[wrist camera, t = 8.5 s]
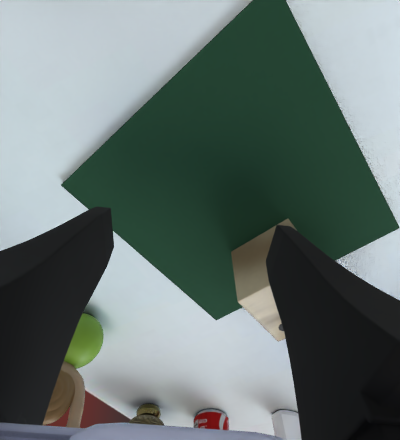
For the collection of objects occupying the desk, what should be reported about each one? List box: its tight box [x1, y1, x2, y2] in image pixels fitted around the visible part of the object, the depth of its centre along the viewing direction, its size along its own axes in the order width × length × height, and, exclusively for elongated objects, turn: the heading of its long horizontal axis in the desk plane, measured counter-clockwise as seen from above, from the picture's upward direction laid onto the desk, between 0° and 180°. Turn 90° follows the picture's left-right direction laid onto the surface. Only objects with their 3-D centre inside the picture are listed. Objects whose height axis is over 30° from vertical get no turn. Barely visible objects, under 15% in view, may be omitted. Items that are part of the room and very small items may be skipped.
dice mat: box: [61, 0, 399, 320], centre depth 22 cm, size 21×20×1 cm
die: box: [231, 219, 296, 341], centre depth 22 cm, size 6×6×6 cm
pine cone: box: [129, 404, 165, 426], centre depth 37 cm, size 8×7×8 cm
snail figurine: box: [43, 313, 103, 428], centre depth 25 cm, size 5×6×12 cm
